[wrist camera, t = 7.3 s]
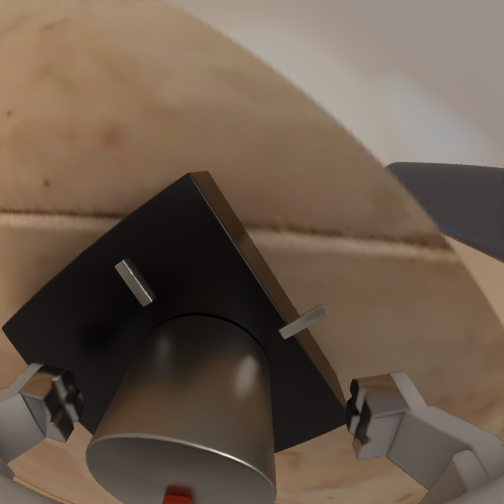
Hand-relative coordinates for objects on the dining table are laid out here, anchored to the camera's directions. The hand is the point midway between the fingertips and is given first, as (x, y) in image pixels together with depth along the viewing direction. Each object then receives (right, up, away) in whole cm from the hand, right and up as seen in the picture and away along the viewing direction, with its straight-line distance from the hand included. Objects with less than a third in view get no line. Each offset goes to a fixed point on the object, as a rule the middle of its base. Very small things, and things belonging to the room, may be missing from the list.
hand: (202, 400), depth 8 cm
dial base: (-2, 0, +5) cm, 5 cm away
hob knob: (0, 0, +1) cm, 1 cm away
